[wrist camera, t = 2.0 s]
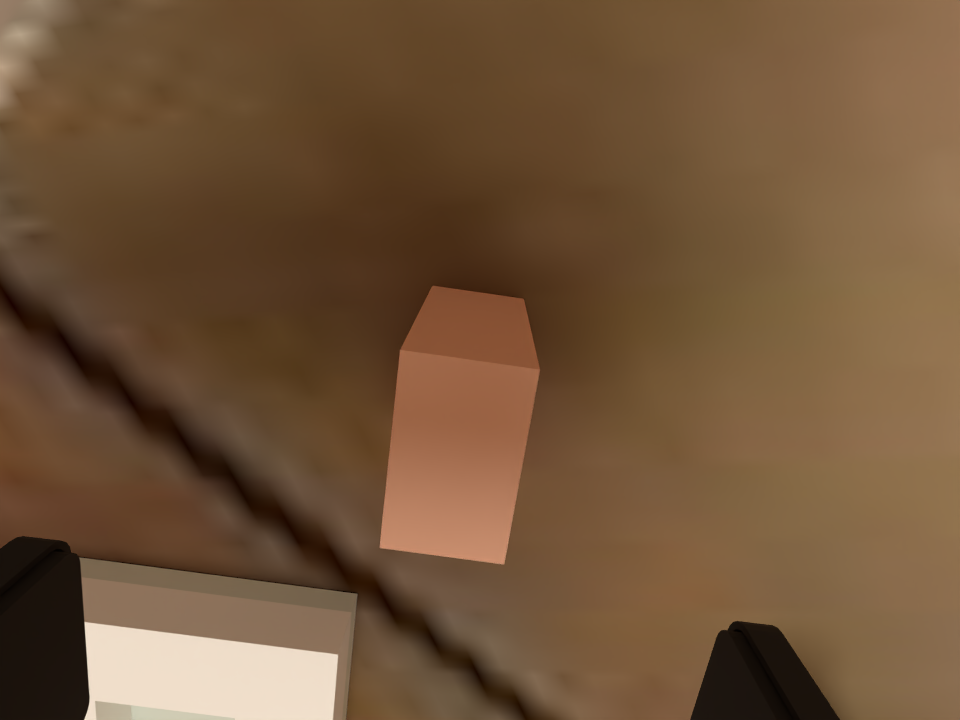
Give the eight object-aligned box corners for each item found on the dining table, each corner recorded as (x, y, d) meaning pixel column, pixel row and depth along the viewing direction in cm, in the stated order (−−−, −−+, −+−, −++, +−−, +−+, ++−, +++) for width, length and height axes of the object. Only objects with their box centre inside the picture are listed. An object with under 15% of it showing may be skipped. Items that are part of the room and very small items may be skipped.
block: (432, 285, 19) (399, 349, 12) (523, 298, 19) (540, 369, 13) (416, 424, 21) (379, 547, 14) (500, 436, 21) (503, 564, 14)
